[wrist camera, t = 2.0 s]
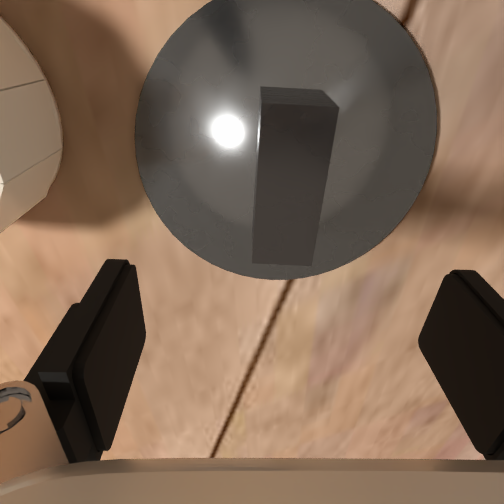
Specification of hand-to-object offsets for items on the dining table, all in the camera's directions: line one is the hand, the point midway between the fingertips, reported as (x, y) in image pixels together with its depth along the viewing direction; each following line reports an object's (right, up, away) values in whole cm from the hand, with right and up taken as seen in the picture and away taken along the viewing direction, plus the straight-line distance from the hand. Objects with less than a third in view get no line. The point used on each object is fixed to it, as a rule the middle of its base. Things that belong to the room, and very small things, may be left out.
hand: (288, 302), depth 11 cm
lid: (+1, +7, +10) cm, 12 cm away
